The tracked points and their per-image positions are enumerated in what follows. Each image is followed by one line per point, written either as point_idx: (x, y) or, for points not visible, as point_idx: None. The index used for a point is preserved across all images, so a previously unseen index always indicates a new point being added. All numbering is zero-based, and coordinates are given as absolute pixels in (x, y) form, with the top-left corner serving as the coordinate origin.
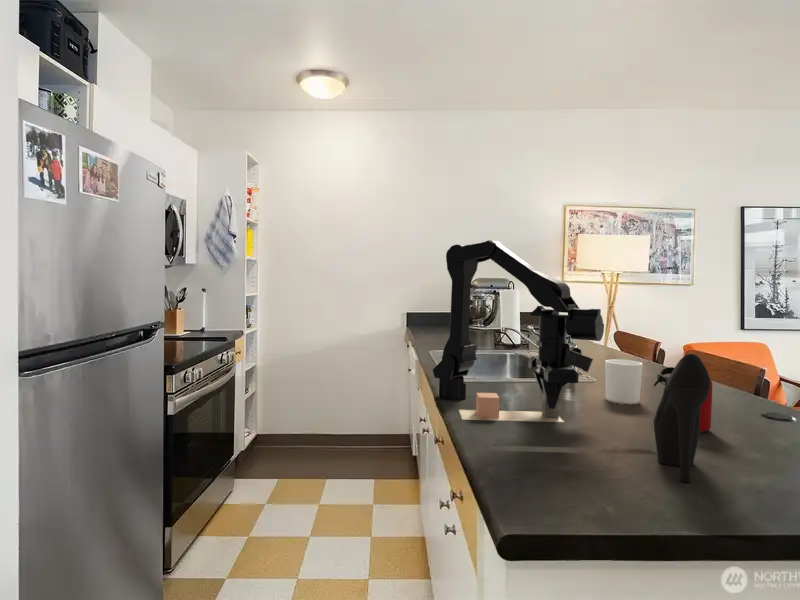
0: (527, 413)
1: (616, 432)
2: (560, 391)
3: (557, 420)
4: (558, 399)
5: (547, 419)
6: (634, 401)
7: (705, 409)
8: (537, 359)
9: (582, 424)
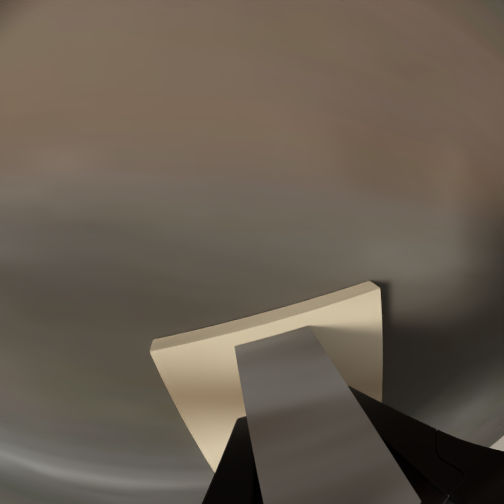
0: None
1: (400, 27)
2: (469, 442)
3: (357, 327)
4: (360, 412)
5: (347, 375)
6: None
7: None
8: None
9: (314, 168)
